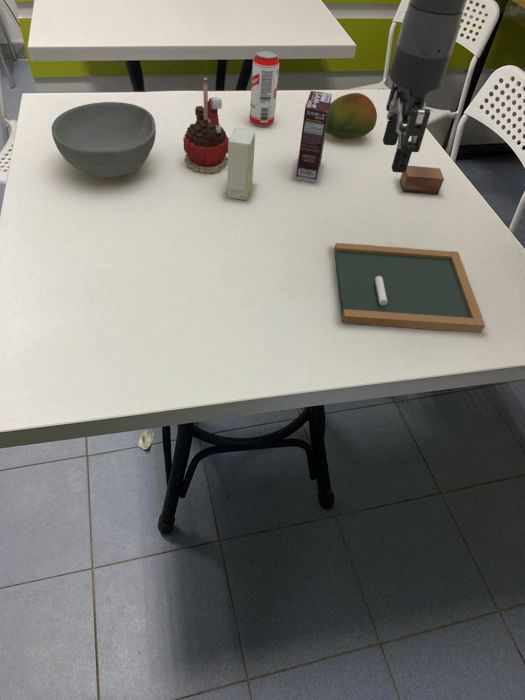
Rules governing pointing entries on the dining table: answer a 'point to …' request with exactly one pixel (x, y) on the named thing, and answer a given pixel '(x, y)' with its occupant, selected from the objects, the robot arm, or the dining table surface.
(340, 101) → the fruit
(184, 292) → the dining table surface
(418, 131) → the robot arm
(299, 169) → the supplement box
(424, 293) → the slate board
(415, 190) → the eraser
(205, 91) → the cake
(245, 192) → the cosmetic box
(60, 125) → the bowl
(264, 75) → the beer can
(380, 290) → the chalk
